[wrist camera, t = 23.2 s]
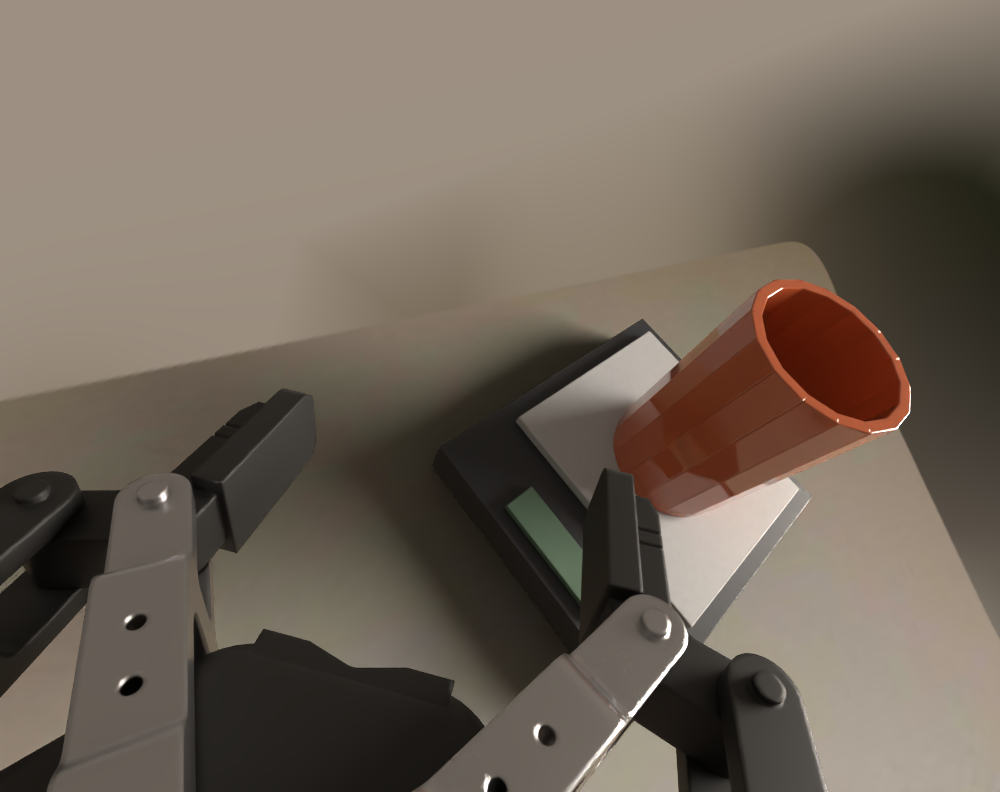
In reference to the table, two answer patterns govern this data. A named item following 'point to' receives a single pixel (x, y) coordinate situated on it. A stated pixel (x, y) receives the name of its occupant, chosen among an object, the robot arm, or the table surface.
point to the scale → (573, 478)
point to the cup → (762, 401)
